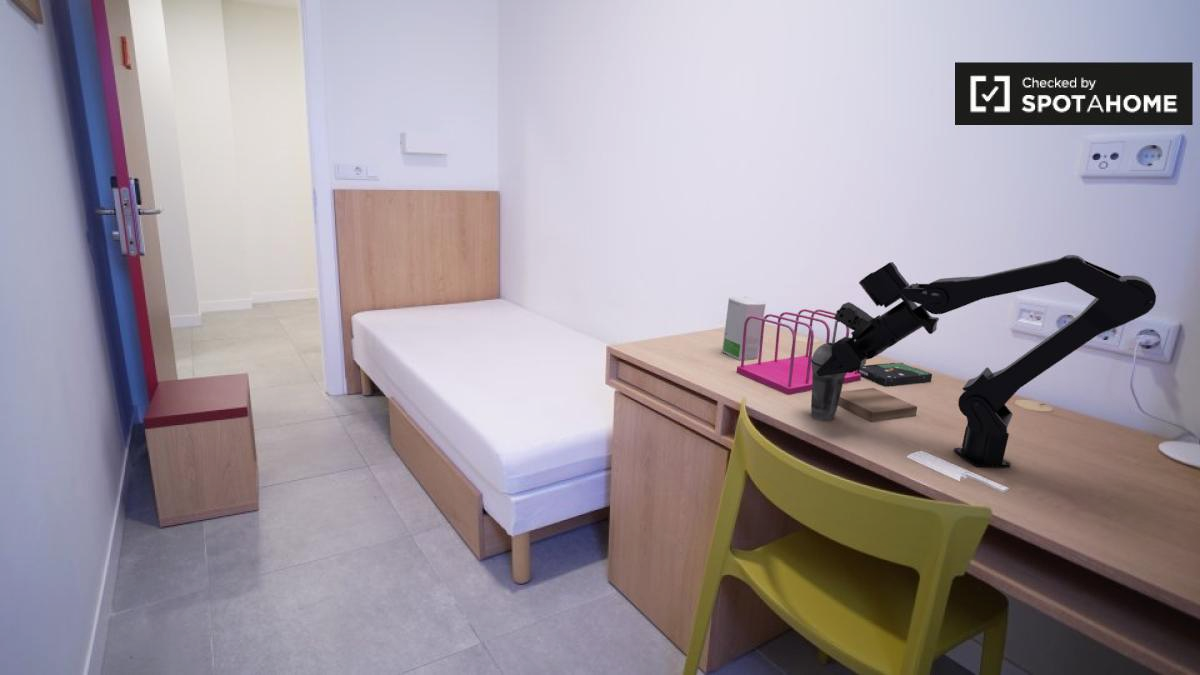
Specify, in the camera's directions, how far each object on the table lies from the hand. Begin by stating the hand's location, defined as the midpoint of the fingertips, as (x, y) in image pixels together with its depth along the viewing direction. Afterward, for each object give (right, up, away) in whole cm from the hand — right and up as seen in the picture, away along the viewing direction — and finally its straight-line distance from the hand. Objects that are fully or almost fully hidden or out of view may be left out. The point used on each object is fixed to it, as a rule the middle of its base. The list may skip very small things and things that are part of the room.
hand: (825, 369), depth 123 cm
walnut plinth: (+13, -9, +8) cm, 17 cm away
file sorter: (+3, -4, +27) cm, 28 cm away
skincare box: (-7, +1, +43) cm, 44 cm away
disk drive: (+28, -4, +29) cm, 41 cm away
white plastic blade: (+14, -17, -20) cm, 30 cm away
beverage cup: (0, -10, +2) cm, 10 cm away
